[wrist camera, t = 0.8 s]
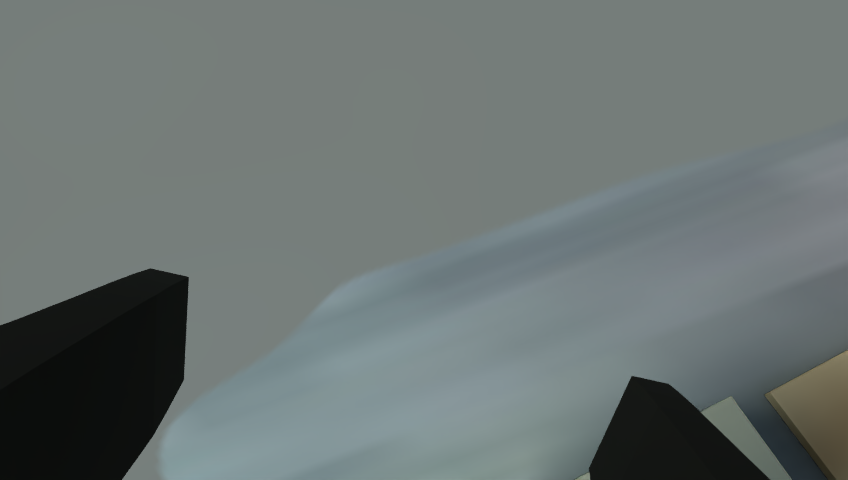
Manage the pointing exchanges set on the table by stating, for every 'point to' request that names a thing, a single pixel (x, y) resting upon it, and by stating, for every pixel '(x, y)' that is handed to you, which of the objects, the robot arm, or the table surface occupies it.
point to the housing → (740, 438)
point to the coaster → (819, 413)
